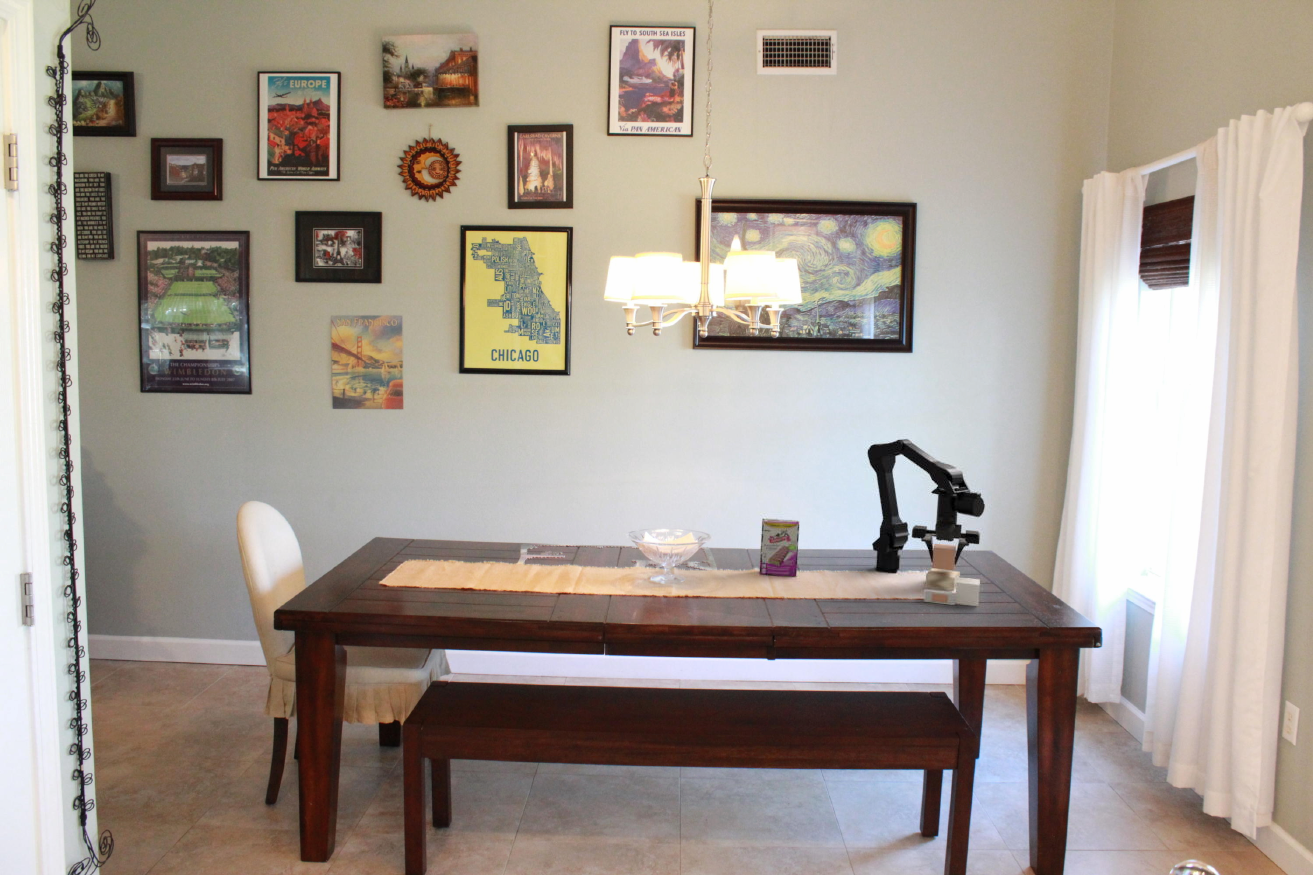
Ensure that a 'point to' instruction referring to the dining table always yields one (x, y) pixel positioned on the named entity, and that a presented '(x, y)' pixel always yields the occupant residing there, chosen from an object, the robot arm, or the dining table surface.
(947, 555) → the terracotta cube
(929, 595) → the plinth
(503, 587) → the dining table surface
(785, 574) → the candy bar box
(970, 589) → the offwhite cube
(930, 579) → the base block
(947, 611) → the dining table surface
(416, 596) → the dining table surface
